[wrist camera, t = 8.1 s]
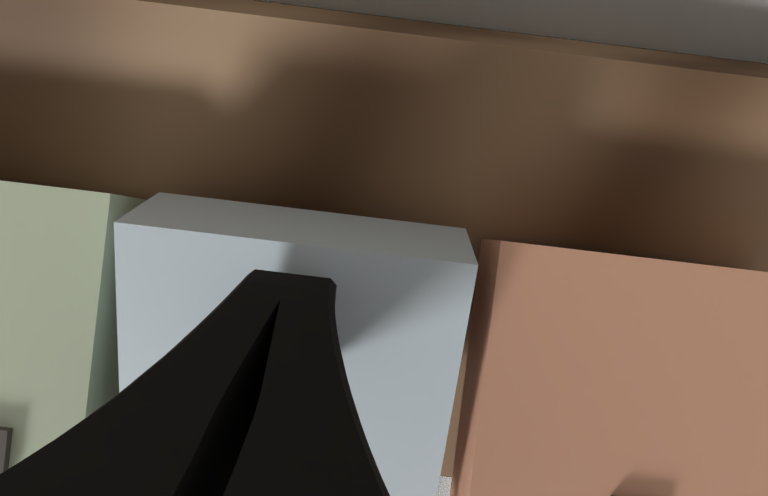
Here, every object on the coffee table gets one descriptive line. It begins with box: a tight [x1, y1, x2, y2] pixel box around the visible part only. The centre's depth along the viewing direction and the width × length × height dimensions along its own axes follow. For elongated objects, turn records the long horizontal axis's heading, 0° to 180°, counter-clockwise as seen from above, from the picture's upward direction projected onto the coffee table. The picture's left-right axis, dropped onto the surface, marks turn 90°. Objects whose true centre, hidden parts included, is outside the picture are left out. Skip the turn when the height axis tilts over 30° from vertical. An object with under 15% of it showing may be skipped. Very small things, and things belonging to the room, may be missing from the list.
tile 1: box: [450, 239, 768, 496], centre depth 12 cm, size 6×6×2 cm
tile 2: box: [114, 192, 478, 496], centre depth 12 cm, size 6×6×2 cm
